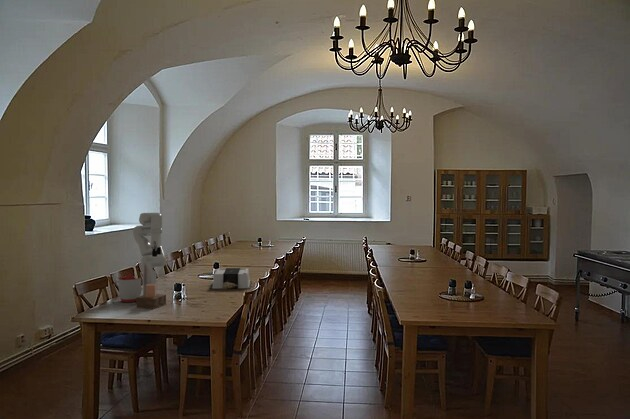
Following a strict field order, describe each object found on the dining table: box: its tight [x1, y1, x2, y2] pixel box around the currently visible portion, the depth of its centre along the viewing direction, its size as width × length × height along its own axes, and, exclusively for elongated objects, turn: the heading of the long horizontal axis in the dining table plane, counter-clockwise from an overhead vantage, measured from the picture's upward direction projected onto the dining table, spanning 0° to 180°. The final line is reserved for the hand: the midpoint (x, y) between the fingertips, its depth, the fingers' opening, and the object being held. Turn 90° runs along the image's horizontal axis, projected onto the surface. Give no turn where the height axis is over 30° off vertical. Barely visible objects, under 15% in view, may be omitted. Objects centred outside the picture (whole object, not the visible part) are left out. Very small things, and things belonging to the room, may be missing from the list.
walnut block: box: [135, 293, 167, 310], centre depth 345 cm, size 14×14×7 cm
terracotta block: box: [146, 283, 157, 297], centre depth 345 cm, size 6×6×8 cm
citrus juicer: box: [118, 273, 142, 304], centre depth 359 cm, size 16×17×20 cm
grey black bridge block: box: [209, 267, 253, 290], centre depth 420 cm, size 35×33×12 cm
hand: (156, 255), depth 352 cm, fingers open, 9 cm apart
